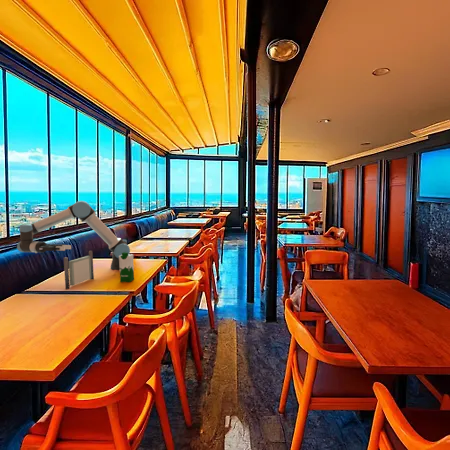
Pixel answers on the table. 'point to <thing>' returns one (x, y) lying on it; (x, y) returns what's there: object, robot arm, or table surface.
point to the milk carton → (126, 267)
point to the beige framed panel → (79, 270)
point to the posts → (68, 270)
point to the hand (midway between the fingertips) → (67, 247)
